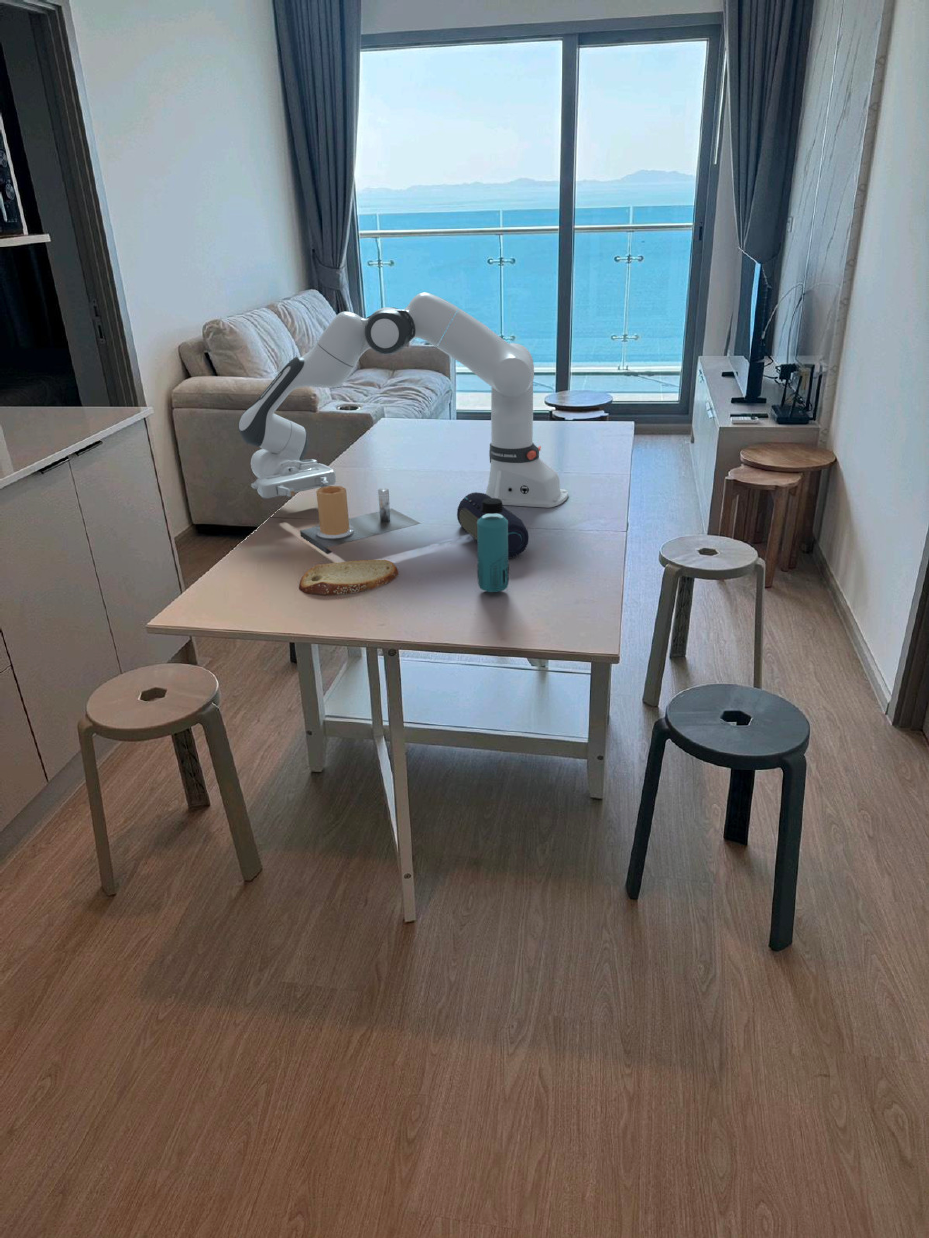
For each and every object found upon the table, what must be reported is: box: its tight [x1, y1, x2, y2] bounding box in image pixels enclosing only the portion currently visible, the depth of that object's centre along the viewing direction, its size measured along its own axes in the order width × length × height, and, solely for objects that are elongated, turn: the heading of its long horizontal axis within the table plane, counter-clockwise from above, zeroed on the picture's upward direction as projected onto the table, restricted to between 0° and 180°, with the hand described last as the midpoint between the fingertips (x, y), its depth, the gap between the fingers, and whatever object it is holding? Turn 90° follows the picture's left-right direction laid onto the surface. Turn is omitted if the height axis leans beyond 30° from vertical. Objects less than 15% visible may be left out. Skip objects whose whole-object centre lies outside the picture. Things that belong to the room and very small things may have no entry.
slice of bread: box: [298, 559, 399, 596], centre depth 178 cm, size 18×18×4 cm
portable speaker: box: [456, 492, 530, 559], centre depth 194 cm, size 25×10×10 cm, turn 22°
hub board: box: [299, 487, 421, 554], centre depth 202 cm, size 26×14×11 cm, turn 125°
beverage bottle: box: [476, 498, 510, 593], centre depth 168 cm, size 6×7×20 cm
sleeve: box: [315, 485, 350, 535], centre depth 197 cm, size 6×6×10 cm
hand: (309, 489), depth 205 cm, fingers open, 8 cm apart
